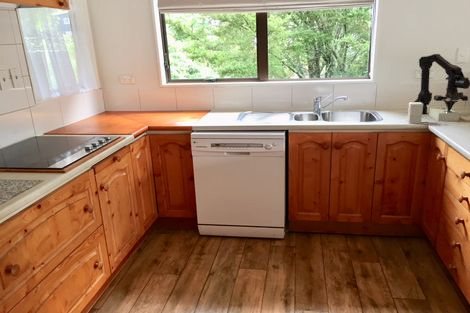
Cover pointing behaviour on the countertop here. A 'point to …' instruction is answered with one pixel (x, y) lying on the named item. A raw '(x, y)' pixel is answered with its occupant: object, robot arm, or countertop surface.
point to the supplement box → (415, 112)
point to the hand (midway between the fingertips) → (448, 111)
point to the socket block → (443, 114)
